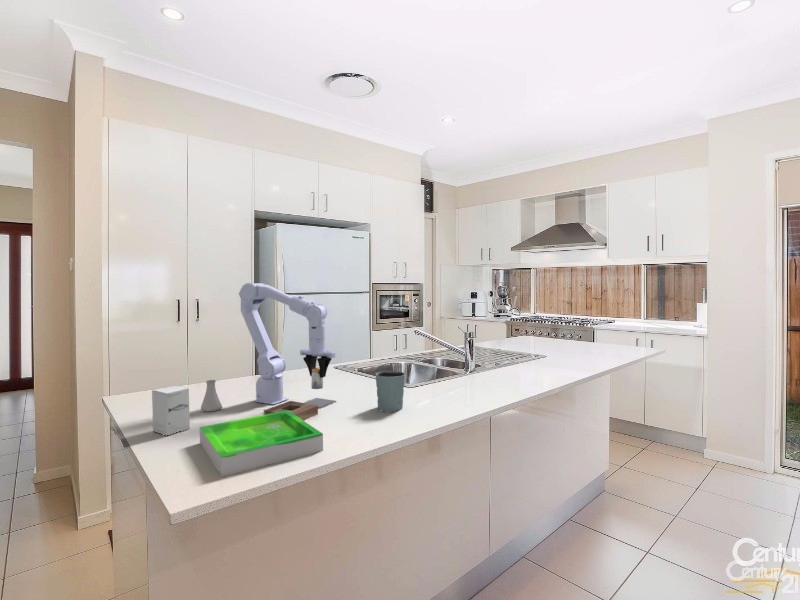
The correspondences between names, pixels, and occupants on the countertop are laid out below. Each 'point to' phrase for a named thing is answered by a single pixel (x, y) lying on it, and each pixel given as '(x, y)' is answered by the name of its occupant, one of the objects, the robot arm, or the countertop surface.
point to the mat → (320, 402)
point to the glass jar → (316, 379)
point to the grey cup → (390, 390)
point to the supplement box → (170, 409)
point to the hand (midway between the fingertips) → (317, 376)
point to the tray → (258, 441)
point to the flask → (211, 398)
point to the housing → (295, 409)
